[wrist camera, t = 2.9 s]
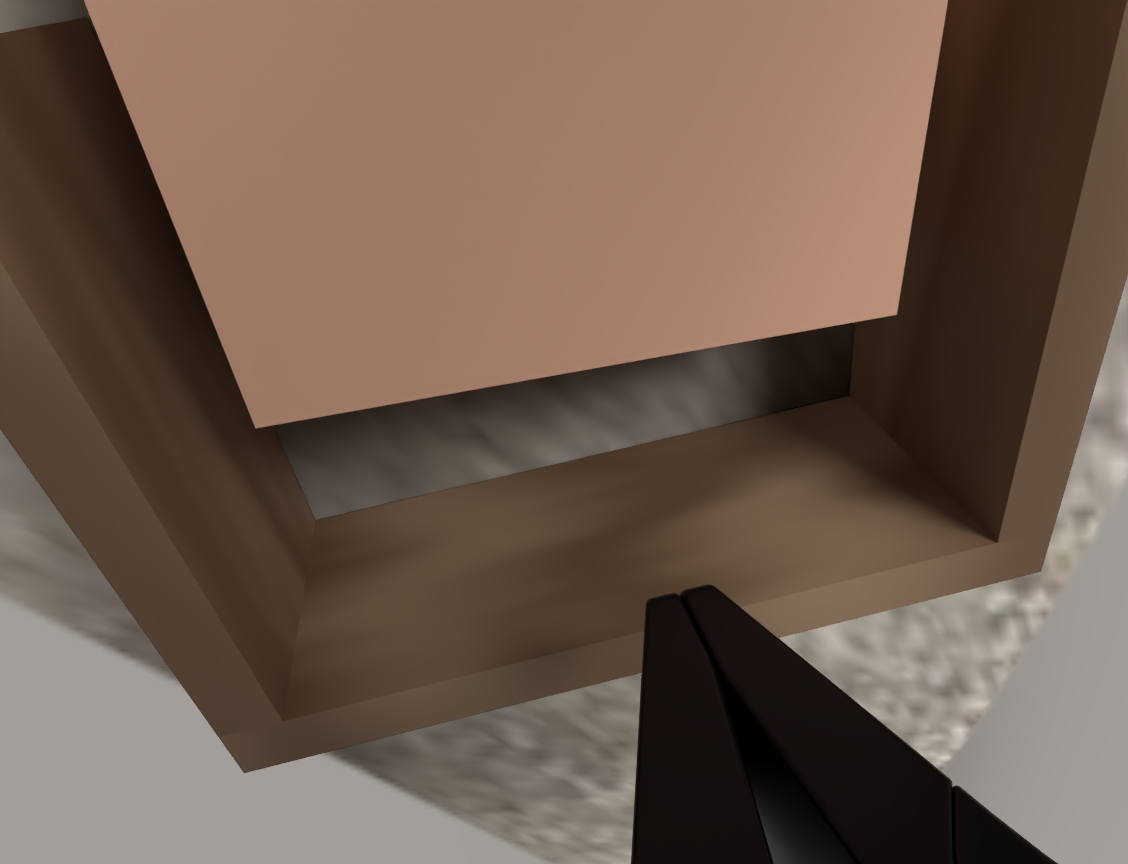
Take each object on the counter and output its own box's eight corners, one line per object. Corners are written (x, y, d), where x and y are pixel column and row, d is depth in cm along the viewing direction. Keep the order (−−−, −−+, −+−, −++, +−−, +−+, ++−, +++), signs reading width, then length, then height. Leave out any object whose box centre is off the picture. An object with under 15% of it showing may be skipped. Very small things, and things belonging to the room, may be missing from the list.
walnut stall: (949, -145, 11) (1268, -206, 7) (887, 422, 17) (1040, 571, 13) (14, 31, 10) (-248, 79, 6) (285, 564, 16) (244, 773, 12)
